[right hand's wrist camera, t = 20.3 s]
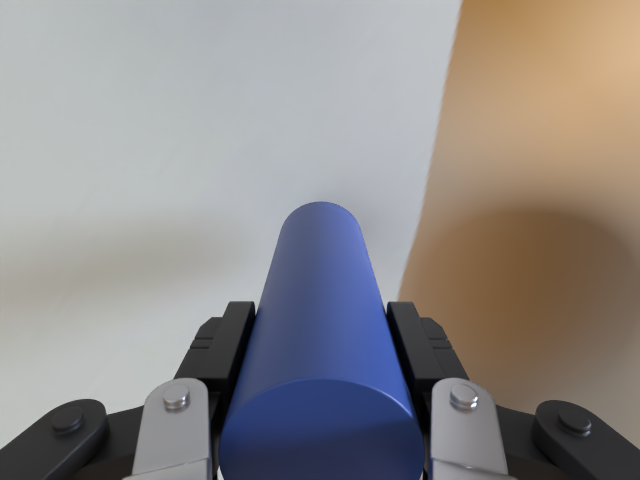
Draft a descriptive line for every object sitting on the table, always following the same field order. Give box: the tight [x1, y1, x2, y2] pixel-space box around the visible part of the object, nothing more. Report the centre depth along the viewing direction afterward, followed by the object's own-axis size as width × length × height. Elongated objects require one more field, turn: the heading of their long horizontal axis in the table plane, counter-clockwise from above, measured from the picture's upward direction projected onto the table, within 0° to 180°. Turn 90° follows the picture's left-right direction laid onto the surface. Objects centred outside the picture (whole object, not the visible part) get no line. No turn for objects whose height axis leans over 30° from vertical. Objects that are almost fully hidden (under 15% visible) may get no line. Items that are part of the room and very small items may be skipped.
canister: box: [218, 202, 425, 480], centre depth 14 cm, size 4×4×12 cm
